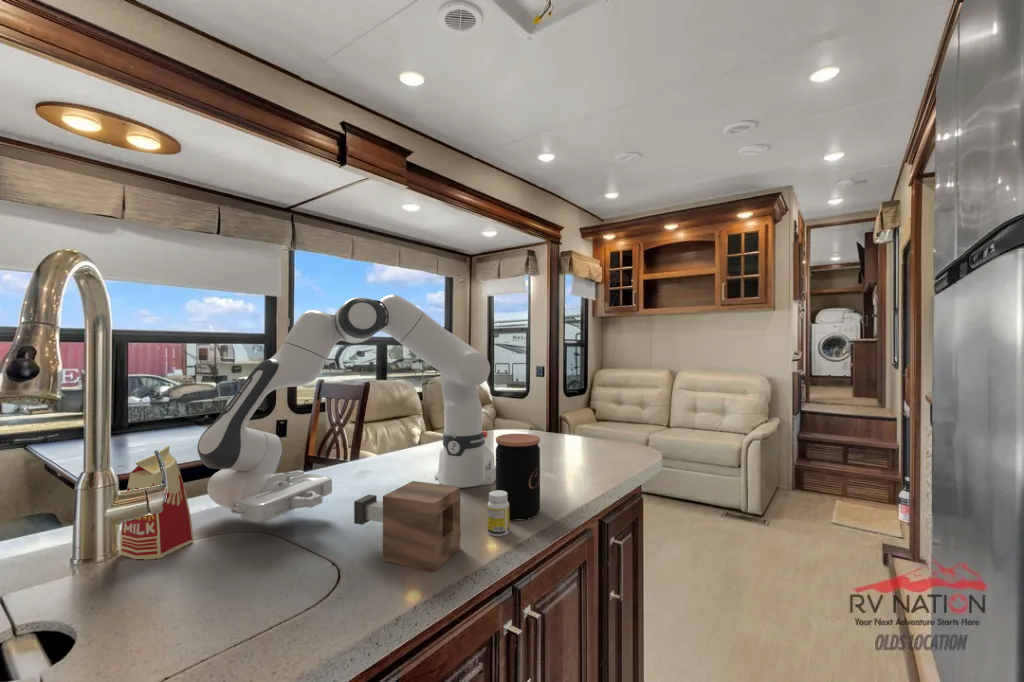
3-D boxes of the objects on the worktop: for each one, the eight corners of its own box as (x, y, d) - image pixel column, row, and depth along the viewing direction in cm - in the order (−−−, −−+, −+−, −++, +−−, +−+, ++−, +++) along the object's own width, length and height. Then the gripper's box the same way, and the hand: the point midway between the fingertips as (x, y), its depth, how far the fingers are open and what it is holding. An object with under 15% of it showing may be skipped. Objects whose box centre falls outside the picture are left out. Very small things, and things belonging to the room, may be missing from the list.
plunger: (368, 515, 95) (368, 494, 96) (417, 523, 91) (417, 501, 91) (354, 523, 91) (354, 501, 91) (405, 532, 87) (405, 509, 87)
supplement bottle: (499, 525, 102) (499, 488, 102) (514, 532, 99) (514, 493, 99) (482, 532, 99) (482, 493, 99) (497, 538, 95) (497, 498, 95)
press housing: (413, 539, 95) (412, 480, 95) (460, 548, 91) (460, 486, 91) (382, 561, 86) (382, 496, 86) (434, 571, 82) (434, 503, 82)
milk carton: (159, 538, 96) (159, 442, 96) (196, 541, 94) (196, 444, 94) (113, 558, 87) (113, 452, 87) (153, 562, 85) (153, 455, 85)
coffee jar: (536, 523, 104) (536, 443, 104) (490, 519, 106) (490, 441, 106) (543, 506, 114) (542, 434, 114) (501, 503, 116) (501, 432, 116)
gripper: (225, 494, 93) (276, 502, 88) (304, 468, 112) (349, 474, 107) (225, 525, 93) (276, 535, 88) (304, 494, 112) (350, 501, 107)
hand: (317, 501), depth 98 cm, fingers closed
